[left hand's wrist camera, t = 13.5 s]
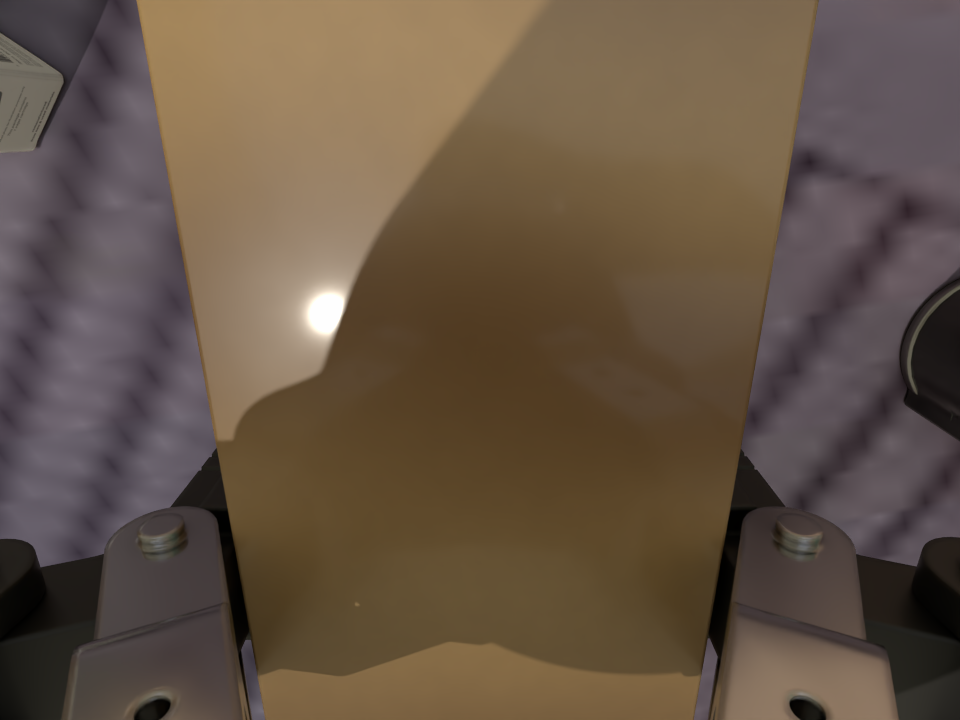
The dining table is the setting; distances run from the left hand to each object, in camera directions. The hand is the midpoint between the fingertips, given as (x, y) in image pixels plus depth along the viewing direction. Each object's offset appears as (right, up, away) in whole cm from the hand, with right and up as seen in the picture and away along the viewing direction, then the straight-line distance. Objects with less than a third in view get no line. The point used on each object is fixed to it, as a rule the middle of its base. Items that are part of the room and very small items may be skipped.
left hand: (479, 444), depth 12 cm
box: (0, +11, +3) cm, 11 cm away
